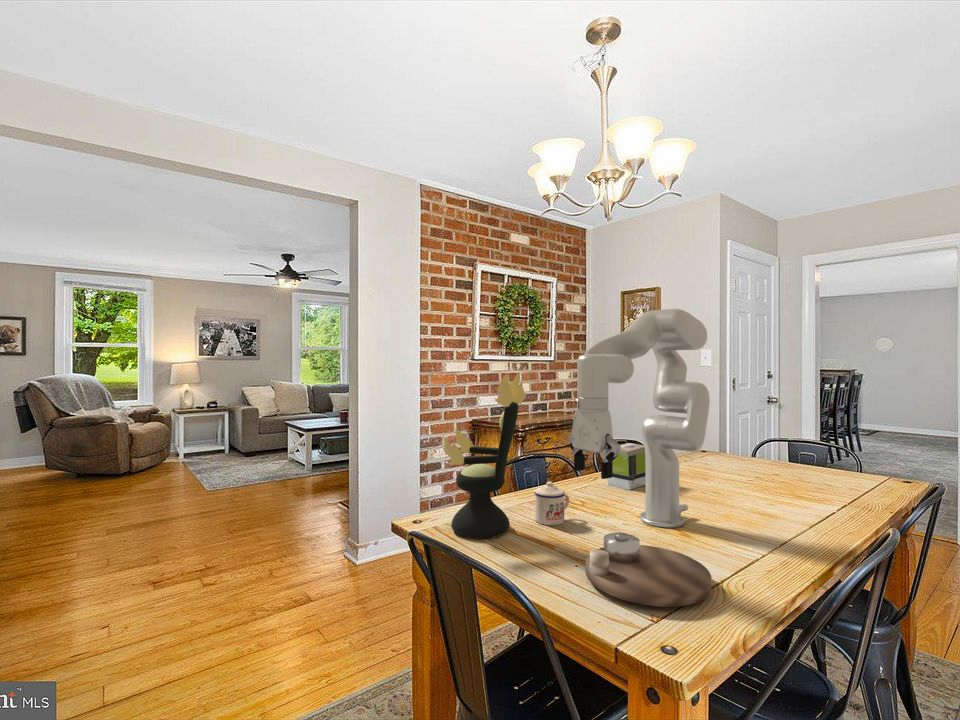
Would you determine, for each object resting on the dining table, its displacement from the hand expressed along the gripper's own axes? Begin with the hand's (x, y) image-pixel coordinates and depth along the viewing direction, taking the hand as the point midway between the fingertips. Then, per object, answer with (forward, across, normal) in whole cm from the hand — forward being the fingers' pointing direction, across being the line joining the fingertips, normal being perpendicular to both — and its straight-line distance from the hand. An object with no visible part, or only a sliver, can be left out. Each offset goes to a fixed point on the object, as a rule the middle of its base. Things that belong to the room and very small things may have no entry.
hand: (592, 473), depth 121 cm
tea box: (+20, -42, +60) cm, 76 cm away
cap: (+17, +9, 0) cm, 20 cm away
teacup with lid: (+21, -26, +9) cm, 34 cm away
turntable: (+19, +16, 0) cm, 25 cm away
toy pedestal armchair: (+21, -30, -12) cm, 38 cm away
